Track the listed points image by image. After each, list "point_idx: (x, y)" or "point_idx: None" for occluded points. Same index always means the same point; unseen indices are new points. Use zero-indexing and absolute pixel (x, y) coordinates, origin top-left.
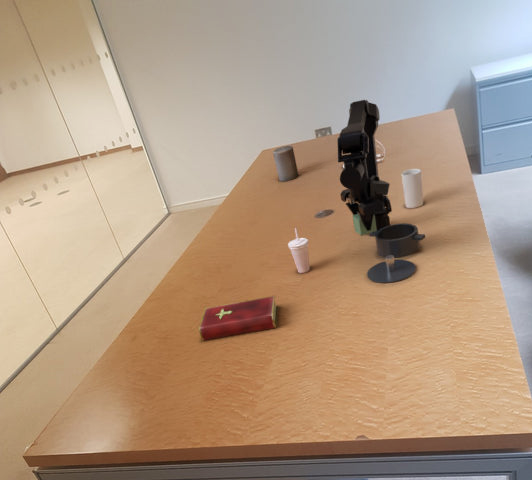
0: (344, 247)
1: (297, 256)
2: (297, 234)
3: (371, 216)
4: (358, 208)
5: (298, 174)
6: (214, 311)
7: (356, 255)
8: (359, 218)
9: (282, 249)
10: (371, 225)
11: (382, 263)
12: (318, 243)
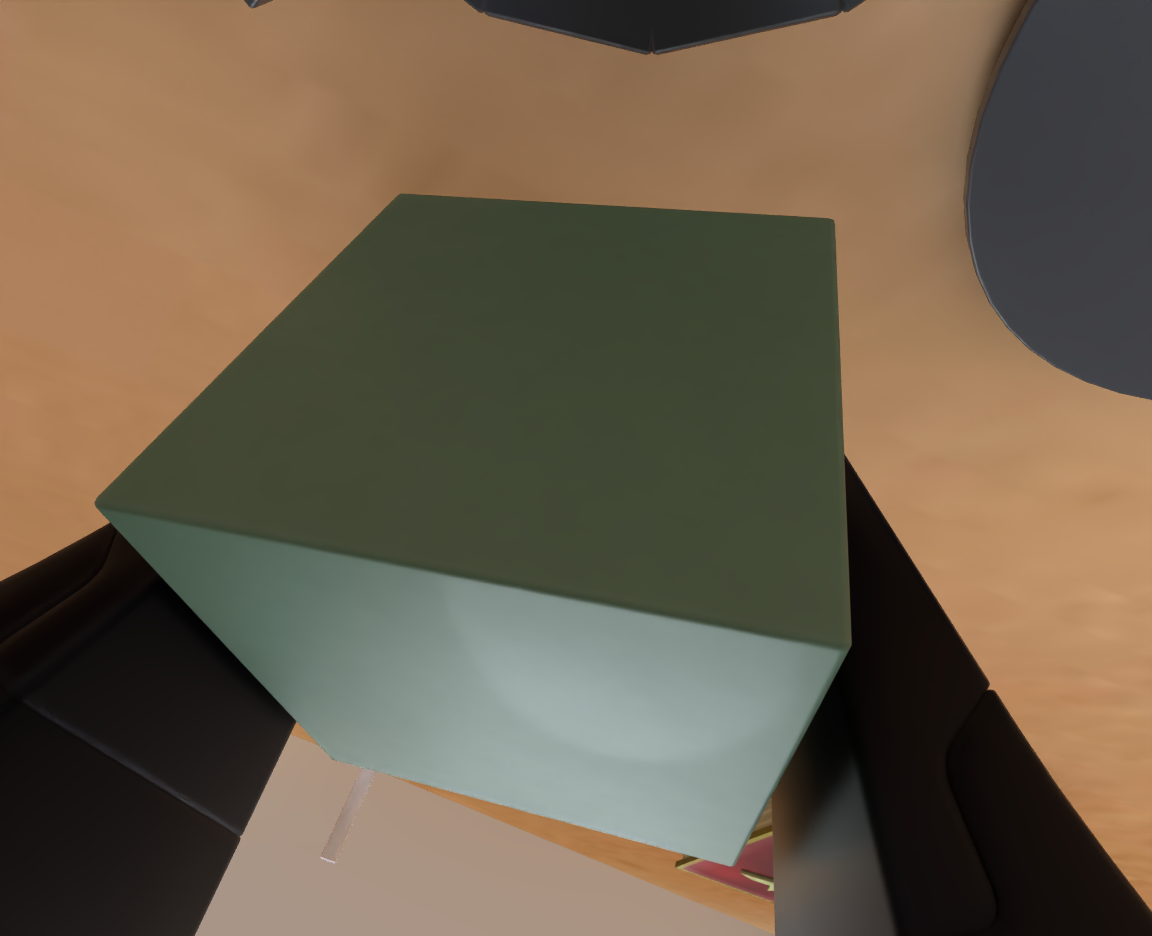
0: (202, 193)
1: None
2: (360, 798)
3: (1073, 908)
4: (113, 800)
5: None
6: (730, 875)
7: (453, 187)
8: (642, 826)
9: None
10: (876, 510)
11: (1043, 94)
12: (63, 316)
